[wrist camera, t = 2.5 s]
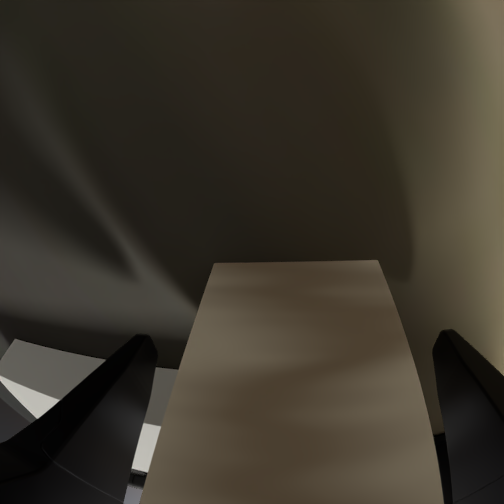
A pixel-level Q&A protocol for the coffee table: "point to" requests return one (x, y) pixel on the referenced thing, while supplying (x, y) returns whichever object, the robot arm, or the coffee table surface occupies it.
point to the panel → (69, 376)
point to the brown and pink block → (296, 394)
